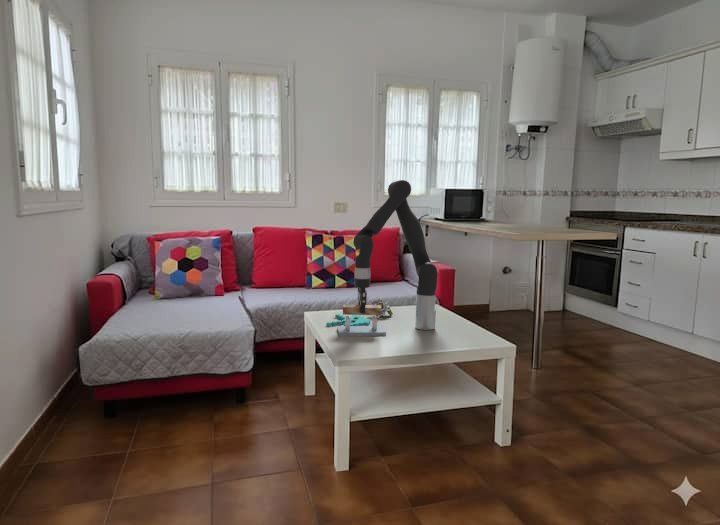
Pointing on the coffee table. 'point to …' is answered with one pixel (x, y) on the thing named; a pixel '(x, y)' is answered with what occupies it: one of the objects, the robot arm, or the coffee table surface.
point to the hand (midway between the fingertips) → (361, 311)
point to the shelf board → (356, 310)
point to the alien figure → (354, 321)
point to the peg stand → (361, 329)
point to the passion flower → (383, 307)
